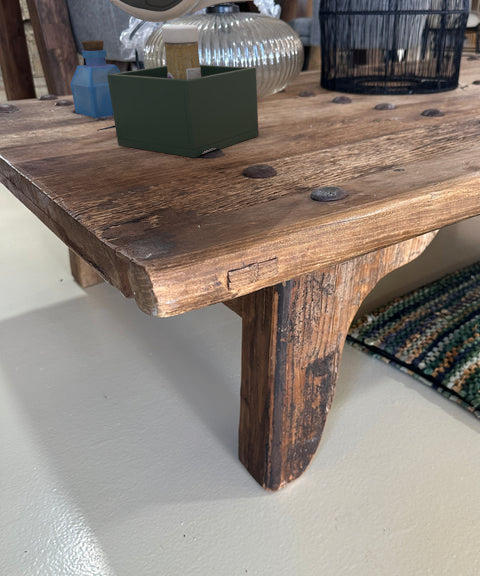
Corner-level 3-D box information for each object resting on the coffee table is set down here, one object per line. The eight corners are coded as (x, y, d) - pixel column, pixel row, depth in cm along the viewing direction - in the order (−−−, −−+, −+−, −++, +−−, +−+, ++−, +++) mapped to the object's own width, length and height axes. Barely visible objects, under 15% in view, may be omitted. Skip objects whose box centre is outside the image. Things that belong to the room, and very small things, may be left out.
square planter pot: (118, 145, 77) (106, 74, 72) (185, 126, 87) (179, 63, 82) (195, 158, 70) (187, 80, 66) (258, 135, 80) (256, 67, 76)
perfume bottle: (78, 125, 89) (62, 41, 83) (113, 119, 93) (101, 38, 87) (97, 130, 85) (82, 43, 80) (134, 124, 89) (122, 40, 83)
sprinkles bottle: (165, 134, 78) (153, 25, 71) (191, 128, 81) (181, 23, 74) (188, 138, 75) (177, 26, 69) (213, 132, 78) (205, 24, 72)
